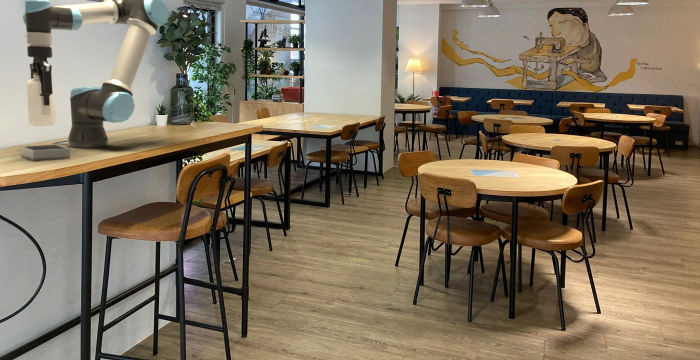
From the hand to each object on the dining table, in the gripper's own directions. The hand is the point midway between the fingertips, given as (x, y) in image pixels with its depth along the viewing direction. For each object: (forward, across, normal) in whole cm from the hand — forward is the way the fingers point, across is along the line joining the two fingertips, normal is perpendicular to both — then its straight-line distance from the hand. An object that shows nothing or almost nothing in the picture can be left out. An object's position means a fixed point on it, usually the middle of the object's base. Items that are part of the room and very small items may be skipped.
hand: (42, 114), depth 219 cm
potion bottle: (+4, -1, 0) cm, 4 cm away
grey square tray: (+15, 0, 0) cm, 15 cm away
